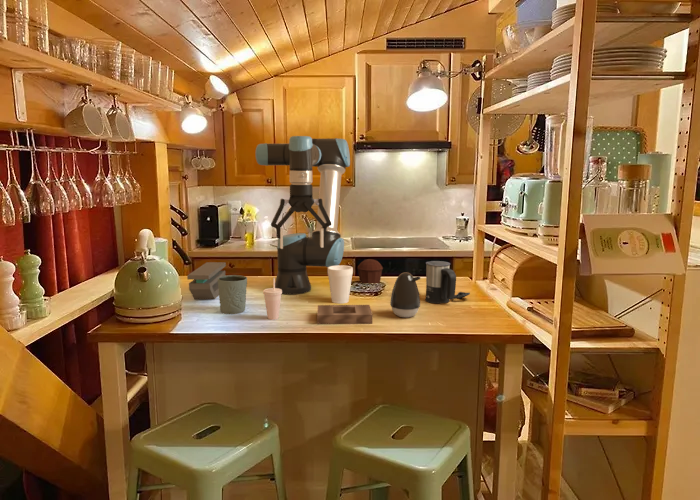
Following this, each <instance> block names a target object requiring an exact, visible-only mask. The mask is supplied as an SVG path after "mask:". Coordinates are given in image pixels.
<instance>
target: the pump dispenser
mask: <svg viewBox="0 0 700 500" xmlns="http://www.w3.org/2000/svg"><path fill="white" fill-rule="evenodd" d="M419 280H421V276H419V275H418V276H415V277H414V276H413V274H411V273H410V272H408V271H407V272H402V273H400V274H399V275H398V277H397V278H396V280H395V282H394V285H393V288H392V291H391V295H390V307H391V311H392V312H393V314H395V316H397V317H400V318H412V317H413V316H415V315H416V314H418V311H419V310H420V309H419V308H420V307H421V299H420V290H419V288H418V287H419V286H418V284H417V282H416V281H419Z"/></svg>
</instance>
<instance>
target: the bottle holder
mask: <svg viewBox="0 0 700 500" xmlns="http://www.w3.org/2000/svg"><path fill="white" fill-rule="evenodd" d="M316 313H317V314H316V315H317V317H316V319H317V325H361V324H363V325H367V324H368V325H370V324H373V312H372V309H371V306H370V304H332V305H331V304H325V305H324V304H320V305H317V312H316Z"/></svg>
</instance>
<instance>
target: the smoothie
mask: <svg viewBox="0 0 700 500" xmlns="http://www.w3.org/2000/svg"><path fill="white" fill-rule="evenodd" d="M272 281H273V282H272V283H273V284H272V286H273V287H271V288H265V289H263V290H262V291H263V292H262V294H263V296H264V302H265V309H266V316H267V320H273V321H275V320H278V319H279V318H280V310H281V309H280V308H281V300H282V295H283V294H282V290H281V289H279V288H275V281H276V277H272Z"/></svg>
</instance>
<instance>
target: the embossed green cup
mask: <svg viewBox="0 0 700 500" xmlns="http://www.w3.org/2000/svg"><path fill="white" fill-rule="evenodd" d="M247 284H248V277H247V276H245V275H241V274H240V275H239V274H228V275H226V274H225V276H221V277H219V278H218V288H219V296H218V299H219V300H218V301H219V304H220V305H219V311H220V313H221V314H223V313H224V314H223V315H237V314H241V313H244V312H245V310H246V300H247V299H246V298H247Z"/></svg>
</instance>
